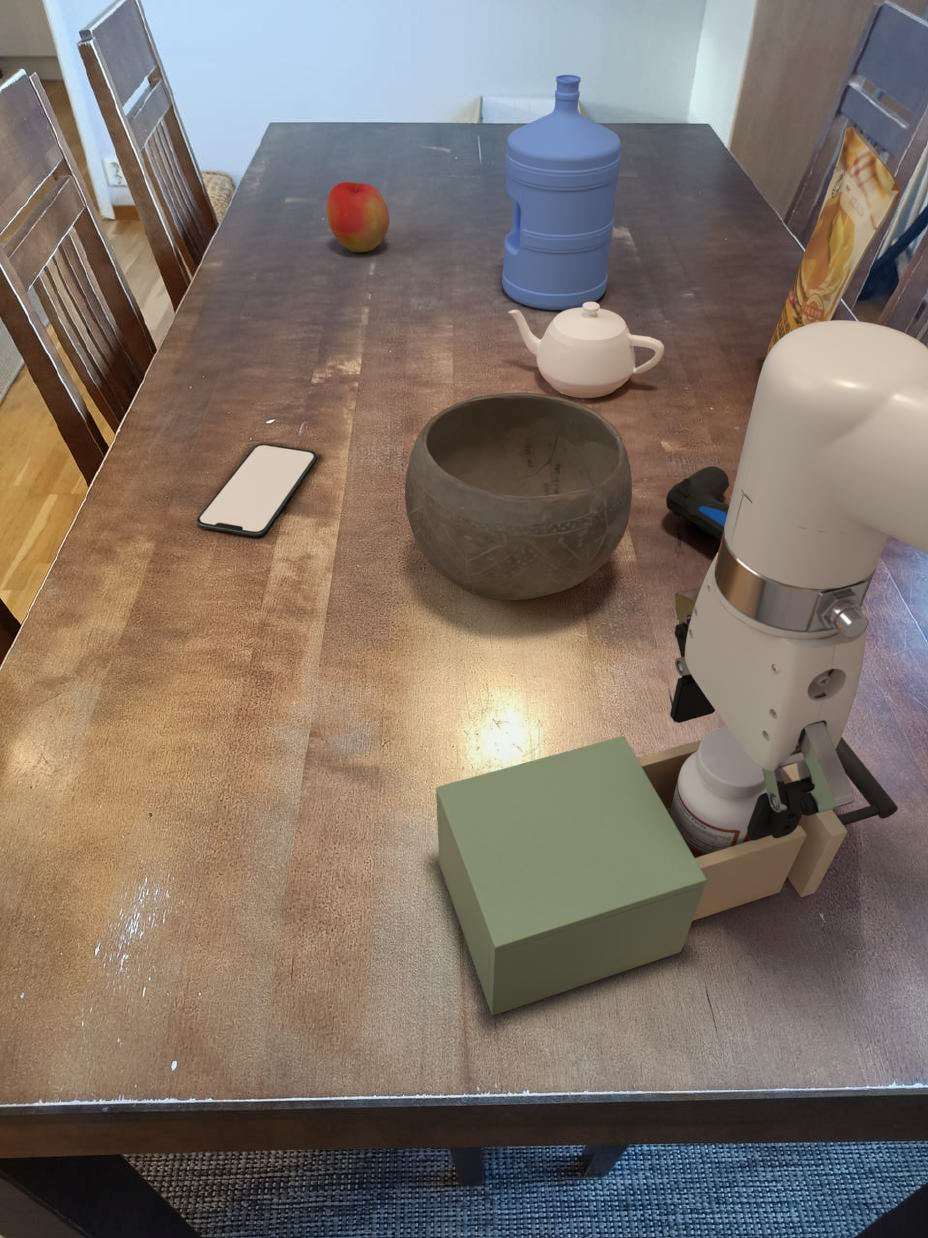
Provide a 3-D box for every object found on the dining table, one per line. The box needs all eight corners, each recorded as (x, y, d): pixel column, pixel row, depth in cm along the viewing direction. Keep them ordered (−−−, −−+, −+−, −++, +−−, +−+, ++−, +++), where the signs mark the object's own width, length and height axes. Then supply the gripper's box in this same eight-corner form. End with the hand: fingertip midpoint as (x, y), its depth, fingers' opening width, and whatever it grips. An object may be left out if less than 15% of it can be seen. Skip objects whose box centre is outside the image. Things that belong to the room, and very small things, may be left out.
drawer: (807, 756, 71) (835, 691, 66) (890, 868, 64) (929, 805, 59) (591, 820, 67) (601, 756, 62) (654, 946, 60) (673, 887, 55)
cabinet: (609, 813, 69) (624, 735, 62) (681, 952, 61) (707, 879, 54) (439, 863, 66) (435, 786, 59) (491, 1016, 58) (494, 947, 51)
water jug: (622, 281, 137) (648, 71, 117) (577, 322, 127) (597, 101, 108) (532, 260, 143) (542, 57, 123) (482, 297, 133) (485, 83, 113)
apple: (334, 263, 142) (327, 197, 135) (328, 240, 149) (321, 176, 142) (394, 258, 143) (390, 192, 136) (386, 235, 150) (382, 172, 143)
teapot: (491, 389, 114) (492, 312, 107) (520, 345, 122) (523, 271, 115) (646, 417, 109) (659, 339, 102) (666, 370, 117) (679, 294, 110)
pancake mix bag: (810, 351, 121) (877, 122, 101) (828, 428, 107) (909, 180, 88) (759, 348, 121) (815, 119, 102) (770, 423, 108) (837, 176, 88)
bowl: (550, 484, 99) (560, 359, 89) (662, 598, 86) (689, 467, 75) (376, 539, 92) (364, 411, 82) (469, 671, 79) (469, 539, 69)
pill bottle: (726, 806, 67) (760, 709, 59) (765, 879, 62) (806, 785, 55) (648, 822, 66) (671, 726, 58) (681, 898, 61) (712, 805, 54)
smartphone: (257, 445, 105) (193, 527, 94) (257, 442, 105) (192, 523, 93) (320, 455, 103) (262, 539, 92) (320, 451, 103) (261, 535, 92)
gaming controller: (688, 508, 100) (639, 498, 93) (715, 462, 98) (666, 448, 90) (810, 589, 90) (766, 585, 83) (843, 540, 88) (800, 532, 81)
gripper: (970, 666, 41) (861, 865, 53) (763, 465, 53) (712, 663, 65) (829, 708, 39) (749, 903, 51) (648, 490, 51) (618, 689, 63)
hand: (729, 769), depth 58 cm, fingers open, 9 cm apart
